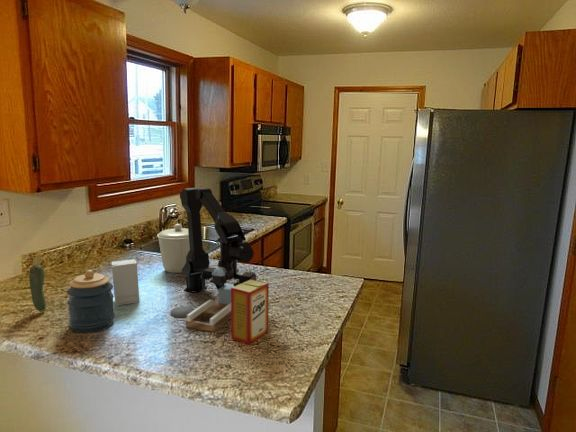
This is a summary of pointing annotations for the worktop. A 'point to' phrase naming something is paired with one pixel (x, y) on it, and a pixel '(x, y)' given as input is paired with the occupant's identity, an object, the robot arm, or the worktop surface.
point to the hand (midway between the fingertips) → (229, 299)
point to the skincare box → (125, 282)
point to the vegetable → (37, 284)
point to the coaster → (181, 311)
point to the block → (225, 294)
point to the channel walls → (205, 307)
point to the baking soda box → (249, 311)
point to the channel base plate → (204, 318)
